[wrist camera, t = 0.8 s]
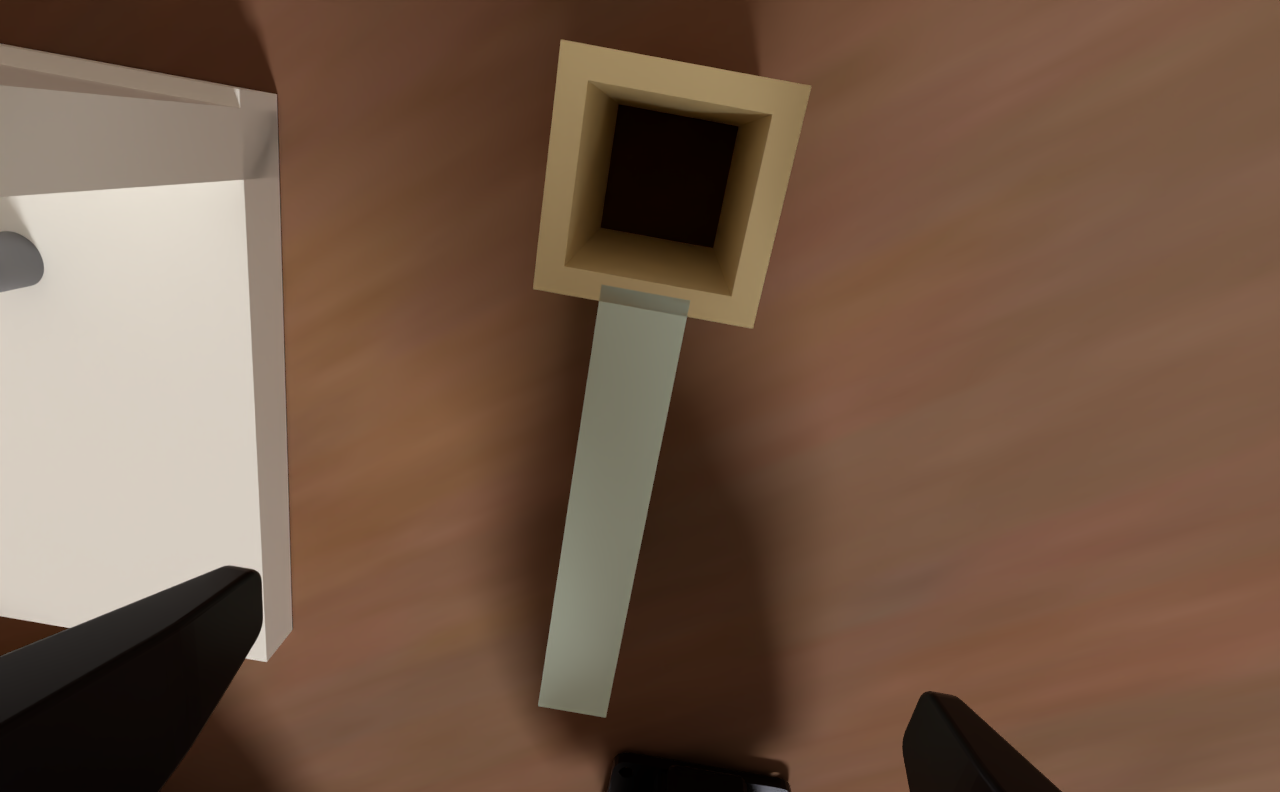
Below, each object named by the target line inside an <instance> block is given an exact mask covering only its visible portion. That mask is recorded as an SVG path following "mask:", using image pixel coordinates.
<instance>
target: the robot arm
mask: <svg viewBox="0 0 1280 792" xmlns="http://www.w3.org/2000/svg"><path fill="white" fill-rule="evenodd" d="M262 624H263V600H262V579H261V575H260V573H259V572H258V571H256V570H254V569H249V568H243V567H238V566H231V565H227V566H223V567H220V568H217V569H215V570H212V571H210V572H208V573H205V574H203V575H200V576H198V577H195V578H193V579H190V580H188V581H185V582H183V583H180V584H178V585H175V586H173V587H170V588H168V589H165V590H163V591H160V592H158V593H156V594H153V595H151V596H148V597H146V598H143V599H141V600H138V601H136V602H133V603H131V604H128V605H126V606H123V607H121V608H118V609H116V610H113V611H111V612H108V613H106V614H104V615H101V616H99V617H96V618H94V619H91V620H89V621H86V622H84V623H81V624H79V625H76V626H74V627H71V628H69V629H66V630H64V631H61V632H59V633H57V634H54V635H52V636H49V637H47V638H44V639H42V640H39V641H37V642H34V643H32V644H29V645H27V646H24V647H22V648H19V649H17V650H14V651H12V652H9V653H7V654H4V655H2V656H0V792H159V791H160V790H161V788H162V787H163V786H164V784H165V783H166V782H167V780H168V779H169V777H170V776H171V775H172V773H173V772H174V771H175V769H176V768H177V767H178V765H179V764H180V762H181V761H182V760H183V758H184V757H185V755H186V754H187V753H188V751H189V750H190V748H191V747H192V745H193V744H194V742H195V741H196V739H197V737H198V736H199V734H200V733H201V731H202V730H203V728H204V726H205V725H206V723H207V721H208V720H209V718H210V716H211V715H212V713H213V711H214V710H215V708H216V706H217V705H218V703H219V701H220V700H221V698H222V696H223V695H224V693H225V691H226V690H227V688H228V686H229V685H230V683H231V681H232V680H233V678H234V676H235V675H236V673H237V671H238V670H239V668H240V666H241V665H242V663H243V662H244V660H245V658H246V657H247V655H248V653H249V652H250V650H251V648H252V647H253V645H254V643H255V642H256V640H257V638H258V636H259V634H260V631H261V628H262ZM902 747H903V757H904V763H905V768H906V773H907V779H908V784H909V789H910V792H1062V791H1061V790H1059V789H1058V788H1057V787H1056V786H1055V785H1054V784H1053V783H1052V782H1051V781H1050V780H1049V779H1047V778H1046V777H1045V776H1044V775H1043V774H1042V773H1041V772H1040V771H1039V770H1038V769H1036V768H1035V767H1034V766H1033V765H1032V764H1031V763H1030V762H1029V761H1028V760H1027V759H1025V758H1024V757H1023V756H1022V755H1021V754H1020V753H1019V752H1018V751H1017V750H1016V749H1014V748H1013V747H1012V746H1011V745H1010V744H1009V743H1008V742H1007V741H1006V740H1005V739H1003V738H1002V737H1001V736H1000V735H999V734H998V733H997V732H996V731H995V730H994V729H993V728H991V727H990V726H989V725H988V724H987V723H986V722H985V721H984V720H983V719H982V718H980V717H979V716H978V715H977V714H976V713H975V712H974V711H973V710H972V709H971V708H969V707H968V706H967V705H966V704H965V703H964V702H963V701H962V700H960V699H959V698H958V697H956V696H953V695H949V694H944V693H938V692H932V691H928V692H925V693H923V694H922V695H921V697H920V699H919V701H918V703H917V705H916V708H915V710H914V712H913V715H912V717H911V719H910V722H909V724H908V726H907V729H906V731H905V734H904V737H903V746H902ZM625 767H628V768H625ZM607 792H791V788H790V785H789V783H788V782H787V781H785V780H783V779H780V778H775V777H769V776H763V775H757V774H751V773H746V772H740V771H734V770H728V769H722V768H716V767H711V766H705V765H699V764H693V763H687V762H681V761H675V760H670V759H664V758H658V757H652V756H646V755H640V754H635V753H625V752H624V753H620V754H618V755H617V756H616V757H615V758H614V760H613V765H612V770H611V774H610V779H609V784H608V788H607Z"/></svg>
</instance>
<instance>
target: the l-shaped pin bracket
mask: <svg viewBox="0 0 1280 792" xmlns="http://www.w3.org/2000/svg"><path fill="white" fill-rule="evenodd" d="M227 565H231V566H238V567H243V568H249V569H254V570H256V571H258V572H259V573H260V575H261V579H262V600H263V624H262V628H261V631H260V634H259V636H258V638H257V640H256V642H255V643H254V645H253V647H252V648H251V650H250V652H249V653H248V655H247V657H246V658H247V659H252V660H258V661H264V662H267V661H268V660H269V659H270V657H271V656H272V655H273V654H274V652H275V651H276V650H277V649H278V647H279V646H280V645H281V644H282V642H283V641H284V640H285V639H286V637H287V636H288V635H289V634H290V632H291V631H292V598H291V563H290V528H289V494H288V459H287V425H286V390H285V355H284V321H283V286H282V252H281V217H280V182H279V148H278V113H277V94H273V93H268V92H262V91H257V90H251V89H246V88H240V87H235V86H230V85H224V84H219V83H213V82H208V81H202V80H197V79H191V78H186V77H181V76H175V75H170V74H164V73H159V72H153V71H148V70H142V69H137V68H131V67H126V66H121V65H115V64H110V63H104V62H99V61H93V60H88V59H82V58H77V57H72V56H66V55H61V54H55V53H50V52H44V51H39V50H33V49H28V48H22V47H17V46H12V45H6V44H1V43H0V616H2V617H8V618H14V619H20V620H26V621H31V622H37V623H43V624H49V625H55V626H61V627H66V628H71V627H74V626H76V625H79V624H81V623H84V622H86V621H89V620H91V619H94V618H96V617H99V616H101V615H104V614H106V613H108V612H111V611H113V610H116V609H118V608H121V607H123V606H126V605H128V604H131V603H133V602H136V601H138V600H141V599H143V598H146V597H148V596H151V595H153V594H156V593H158V592H160V591H163V590H165V589H168V588H170V587H173V586H175V585H178V584H180V583H183V582H185V581H188V580H190V579H193V578H195V577H198V576H200V575H203V574H205V573H208V572H210V571H212V570H215V569H217V568H220V567H223V566H227Z"/></svg>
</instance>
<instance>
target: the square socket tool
mask: <svg viewBox="0 0 1280 792" xmlns="http://www.w3.org/2000/svg"><path fill="white" fill-rule="evenodd" d="M810 90H811V86H809V85H804V84H798V83H793V82H788V81H782V80H777V79H772V78H766V77H761V76H755V75H750V74H745V73H739V72H734V71H728V70H723V69H718V68H712V67H707V66H701V65H696V64H691V63H685V62H680V61H675V60H669V59H664V58H658V57H653V56H648V55H642V54H637V53H631V52H626V51H621V50H615V49H610V48H605V47H599V46H594V45H588V44H583V43H578V42H572V41H567V40H561V43H560V52H559V61H558V70H557V79H556V88H555V97H554V105H553V114H552V123H551V132H550V141H549V150H548V159H547V168H546V177H545V186H544V194H543V203H542V212H541V221H540V230H539V239H538V248H537V257H536V266H535V275H534V284H533V289H536V290H541V291H547V292H552V293H558V294H563V295H569V296H574V297H580V298H585V299H591V300H596V301H599V305H598V311H597V318H596V325H595V331H594V338H593V345H592V351H591V358H590V364H589V371H588V378H587V384H586V391H585V398H584V404H583V411H582V418H581V424H580V431H579V437H578V444H577V451H576V457H575V464H574V471H573V477H572V484H571V491H570V497H569V504H568V510H567V517H566V524H565V530H564V537H563V544H562V550H561V557H560V564H559V570H558V577H557V583H556V590H555V597H554V603H553V610H552V617H551V623H550V630H549V637H548V643H547V650H546V656H545V663H544V670H543V676H542V683H541V690H540V696H539V703H538V706H540V707H546V708H552V709H558V710H564V711H569V712H575V713H581V714H587V715H593V716H599V717H604V718H606V715H607V710H608V705H609V700H610V695H611V690H612V685H613V680H614V675H615V670H616V665H617V660H618V655H619V650H620V645H621V640H622V635H623V631H624V626H625V621H626V616H627V611H628V606H629V601H630V596H631V591H632V586H633V581H634V576H635V571H636V566H637V561H638V556H639V552H640V547H641V542H642V537H643V532H644V527H645V522H646V517H647V512H648V507H649V502H650V497H651V492H652V487H653V482H654V477H655V473H656V468H657V463H658V458H659V453H660V448H661V443H662V438H663V433H664V428H665V423H666V418H667V413H668V408H669V403H670V398H671V393H672V389H673V384H674V379H675V374H676V369H677V364H678V359H679V354H680V349H681V344H682V339H683V334H684V329H685V324H686V319H687V317H691V318H696V319H702V320H707V321H713V322H718V323H724V324H729V325H735V326H741V327H746V328H752V329H753V326H754V322H755V317H756V313H757V309H758V305H759V301H760V297H761V293H762V289H763V284H764V280H765V276H766V272H767V268H768V264H769V260H770V255H771V251H772V247H773V243H774V239H775V235H776V231H777V227H778V222H779V218H780V214H781V210H782V206H783V202H784V198H785V193H786V189H787V185H788V181H789V177H790V173H791V169H792V164H793V160H794V156H795V152H796V148H797V144H798V140H799V136H800V131H801V127H802V123H803V119H804V115H805V111H806V107H807V102H808V98H809V94H810ZM619 104H620V105H626V106H631V107H637V108H642V109H648V110H653V111H658V112H664V113H669V114H675V115H680V116H685V117H691V118H696V119H702V120H707V121H713V122H718V123H723V124H729V125H734V126H739V127H738V132H737V137H736V141H735V146H734V151H733V156H732V161H731V165H730V170H729V175H728V180H727V184H726V189H725V194H724V199H723V204H722V208H721V213H720V218H719V223H718V227H717V232H716V237H715V242H714V247H713V248H710V247H704V246H699V245H693V244H688V243H682V242H677V241H671V240H666V239H660V238H655V237H649V236H644V235H638V234H633V233H627V232H622V231H616V230H611V229H605V228H601V222H602V215H603V208H604V202H605V195H606V188H607V181H608V174H609V167H610V160H611V153H612V147H613V140H614V133H615V126H616V119H617V112H618V105H619Z"/></svg>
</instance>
